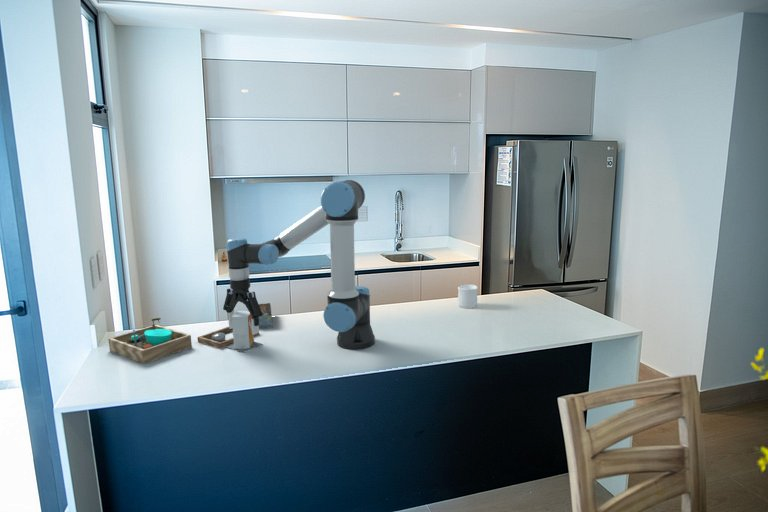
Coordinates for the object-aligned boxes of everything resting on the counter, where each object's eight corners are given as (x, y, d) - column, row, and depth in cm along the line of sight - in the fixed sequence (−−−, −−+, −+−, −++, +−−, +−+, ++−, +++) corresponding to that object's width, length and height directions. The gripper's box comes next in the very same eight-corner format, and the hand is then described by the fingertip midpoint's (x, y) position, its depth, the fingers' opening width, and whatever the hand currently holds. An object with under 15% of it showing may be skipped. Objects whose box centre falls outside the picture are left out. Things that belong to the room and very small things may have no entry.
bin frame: (259, 334, 221) (258, 329, 221) (220, 348, 205) (219, 343, 205) (237, 328, 229) (236, 323, 229) (197, 341, 213) (197, 337, 212)
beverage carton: (254, 329, 227) (253, 315, 226) (254, 316, 246) (253, 303, 244) (272, 328, 229) (272, 313, 228) (271, 315, 248) (270, 301, 246)
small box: (250, 348, 203) (247, 316, 201) (233, 349, 203) (231, 317, 201) (254, 341, 211) (252, 310, 209) (238, 341, 211) (236, 310, 209)
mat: (262, 344, 208) (262, 343, 208) (242, 352, 200) (242, 351, 200) (245, 340, 214) (245, 339, 214) (225, 347, 206) (225, 346, 206)
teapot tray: (191, 347, 207) (190, 335, 206) (144, 363, 191) (142, 350, 190) (156, 335, 221) (155, 324, 220) (109, 350, 205) (108, 338, 204)
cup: (457, 308, 253) (457, 289, 251) (458, 302, 263) (458, 284, 261) (477, 309, 252) (477, 289, 250) (477, 303, 261) (477, 284, 259)
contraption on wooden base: (125, 347, 208) (120, 311, 205) (174, 338, 216) (169, 303, 213) (127, 360, 196) (121, 322, 193) (178, 350, 204) (173, 313, 201)
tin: (228, 341, 214) (227, 334, 213) (217, 344, 210) (217, 337, 209) (220, 338, 216) (219, 331, 216) (210, 342, 212) (209, 335, 212)
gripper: (269, 279, 198) (273, 333, 202) (226, 272, 212) (230, 323, 216) (254, 284, 192) (258, 339, 196) (211, 276, 206) (215, 328, 210)
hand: (243, 330), depth 206 cm, fingers open, 13 cm apart
